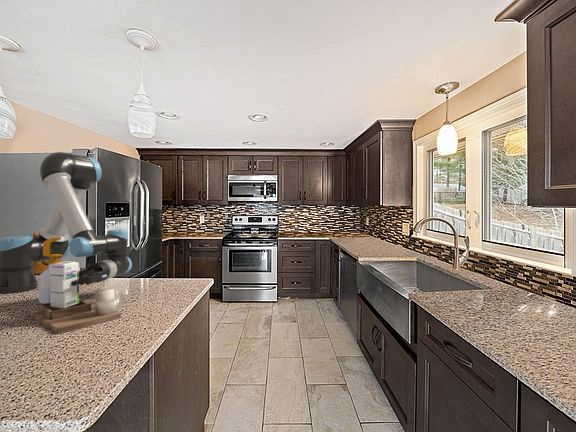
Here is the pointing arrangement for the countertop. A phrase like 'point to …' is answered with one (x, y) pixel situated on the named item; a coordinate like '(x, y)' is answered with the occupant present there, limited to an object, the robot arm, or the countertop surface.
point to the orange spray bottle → (41, 263)
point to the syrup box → (57, 275)
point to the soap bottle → (47, 271)
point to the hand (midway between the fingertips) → (52, 285)
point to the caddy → (78, 312)
